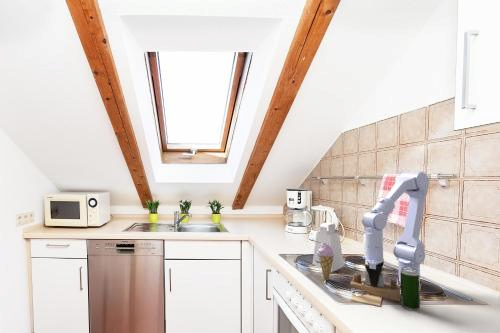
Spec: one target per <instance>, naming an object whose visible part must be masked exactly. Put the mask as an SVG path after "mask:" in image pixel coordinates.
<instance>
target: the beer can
mask: <svg viewBox="0 0 500 333" xmlns="http://www.w3.org/2000/svg"><path fill="white" fill-rule="evenodd" d="M400 275H401V287H400V304H401V306H402V307H403V308H404V309H406V310H408V311H414V312H417V311H419V310H420V308H421V290H420V281H421V274H420V275H419V271H418V270H417V269H414V268H410V267H402V268H401V271H400Z"/></svg>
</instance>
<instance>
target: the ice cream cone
mask: <svg viewBox="0 0 500 333" xmlns="http://www.w3.org/2000/svg"><path fill="white" fill-rule="evenodd" d="M322 244H323V243H322ZM317 250H318V251H317V256H318V259H319V260H320V265H321V268H322V269H321V271H322V275H323V279H324V280H325V281H328V280H329V277H330V273H331V272H330V271H331V267H332V263H333V257H334V255H333V248H332V247H331V245H330V244H328V243H327V245H324V244H323V245H321V248H320V249H317ZM327 279H328V280H327Z"/></svg>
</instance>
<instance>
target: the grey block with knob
mask: <svg viewBox="0 0 500 333" xmlns="http://www.w3.org/2000/svg"><path fill="white" fill-rule="evenodd" d="M364 277H365V285H369V286H371V283H370V279H369V275H368V272H367V270H365V273H364ZM384 283H385V272H384V271H383V272H382V271H381V273H380V275H379V282H378V286H374V287H380V288H384Z"/></svg>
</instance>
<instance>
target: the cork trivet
mask: <svg viewBox="0 0 500 333" xmlns="http://www.w3.org/2000/svg"><path fill="white" fill-rule="evenodd" d="M382 300H383V298H382V297H378V296H373V295H363V296H356V295H352V296H351V299H350V301H351V302H356V303H360V304H365V305H370V306H376V307H381V305H382V302H383V301H382Z"/></svg>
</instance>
